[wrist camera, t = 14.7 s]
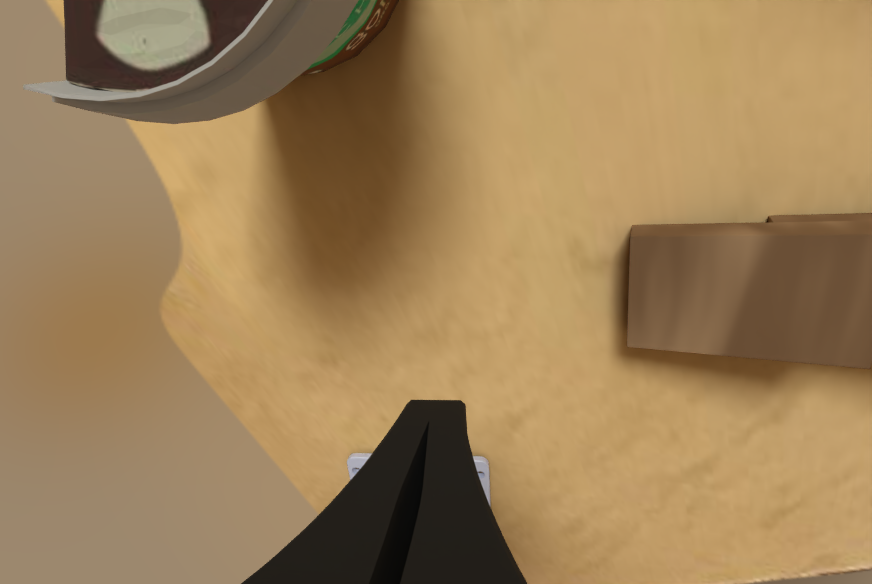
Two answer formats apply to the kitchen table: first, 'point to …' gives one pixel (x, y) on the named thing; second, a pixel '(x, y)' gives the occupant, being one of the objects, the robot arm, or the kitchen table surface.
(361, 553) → the robot arm
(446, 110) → the kitchen table surface
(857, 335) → the walnut domino
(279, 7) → the food container
